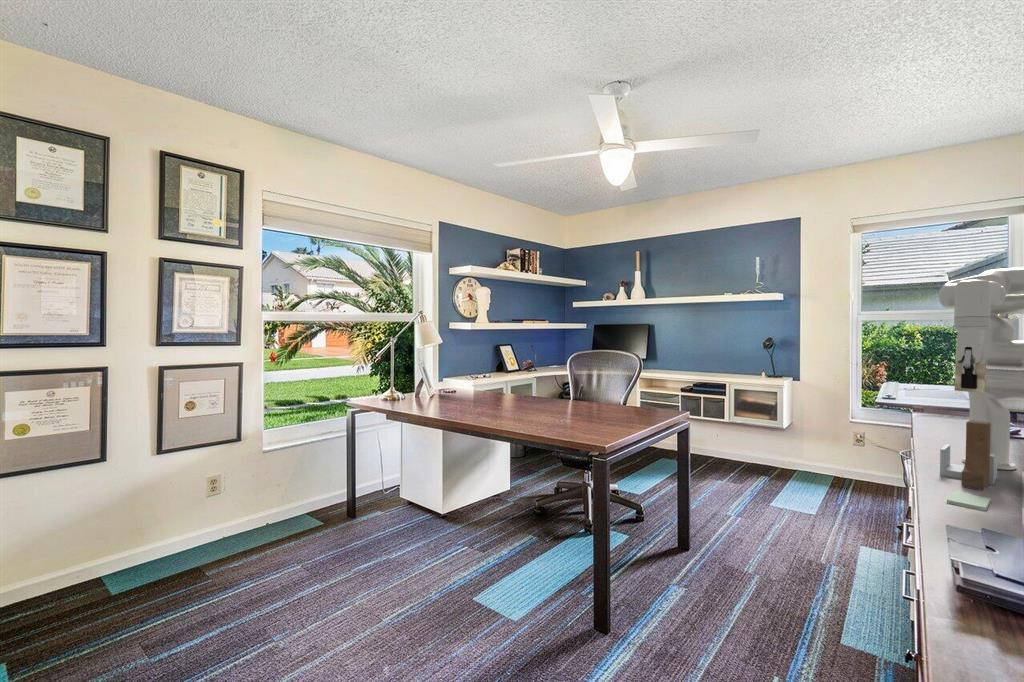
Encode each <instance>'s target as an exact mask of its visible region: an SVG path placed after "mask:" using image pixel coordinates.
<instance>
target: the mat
mask: <svg viewBox="0 0 1024 682" xmlns="http://www.w3.org/2000/svg"><path fill="white" fill-rule="evenodd" d="M991 501H992V499H991V498H990V497H985V496H980V495H975V494H971V493H970V494H969V493H965V492H964V493H963V492H959V491H952V492H951V494H949V496H948V497H947V499H946V503H947V504H951V505H954V506H960V507H964V508H966V507H967V508H971V509H975V510H980V511H985V512H986V511H987V510H988V507H989V506H990V504H991Z"/></svg>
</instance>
